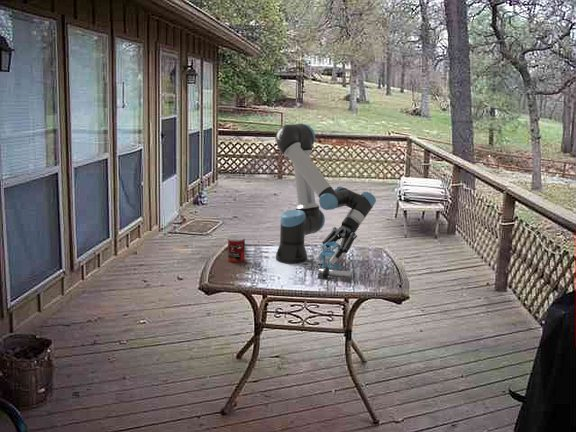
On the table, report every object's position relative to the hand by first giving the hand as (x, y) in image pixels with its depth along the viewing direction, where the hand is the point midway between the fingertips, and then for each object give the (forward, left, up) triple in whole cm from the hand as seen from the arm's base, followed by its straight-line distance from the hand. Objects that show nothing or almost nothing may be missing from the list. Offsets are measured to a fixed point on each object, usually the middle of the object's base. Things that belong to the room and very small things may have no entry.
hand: (325, 260), depth 278 cm
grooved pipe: (+6, -5, -6) cm, 10 cm away
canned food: (-44, +5, -6) cm, 45 cm away
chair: (+2, +3, -4) cm, 6 cm away
